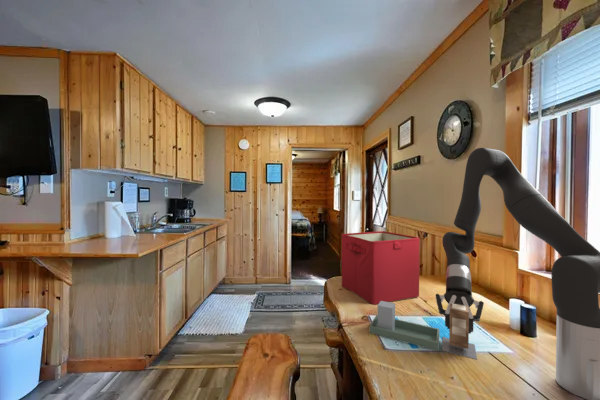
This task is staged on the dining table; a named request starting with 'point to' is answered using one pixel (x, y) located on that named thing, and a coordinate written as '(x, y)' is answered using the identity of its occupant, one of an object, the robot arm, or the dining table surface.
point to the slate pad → (459, 349)
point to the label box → (459, 325)
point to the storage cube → (380, 266)
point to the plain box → (386, 315)
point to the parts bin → (409, 333)
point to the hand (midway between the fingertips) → (458, 330)
